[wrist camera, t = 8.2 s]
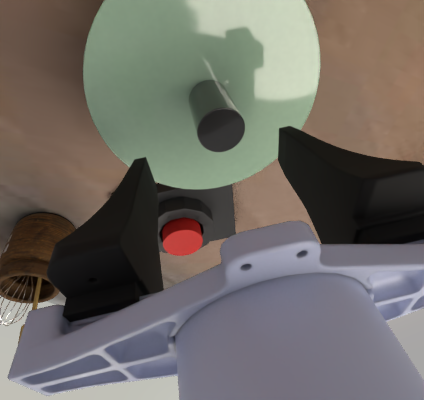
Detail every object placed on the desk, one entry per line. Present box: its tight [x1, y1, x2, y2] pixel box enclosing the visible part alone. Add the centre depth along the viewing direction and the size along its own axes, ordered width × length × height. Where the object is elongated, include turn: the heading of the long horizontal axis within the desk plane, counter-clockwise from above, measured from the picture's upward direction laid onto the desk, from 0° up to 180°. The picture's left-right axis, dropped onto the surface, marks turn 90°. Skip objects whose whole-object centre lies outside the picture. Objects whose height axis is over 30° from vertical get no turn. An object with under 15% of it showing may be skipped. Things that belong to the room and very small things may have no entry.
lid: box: [83, 0, 320, 190], centre depth 15 cm, size 14×14×5 cm
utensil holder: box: [0, 213, 76, 343], centre depth 25 cm, size 6×6×12 cm
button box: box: [112, 184, 236, 253], centre depth 30 cm, size 12×9×3 cm
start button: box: [162, 217, 203, 256], centre depth 29 cm, size 4×4×2 cm
